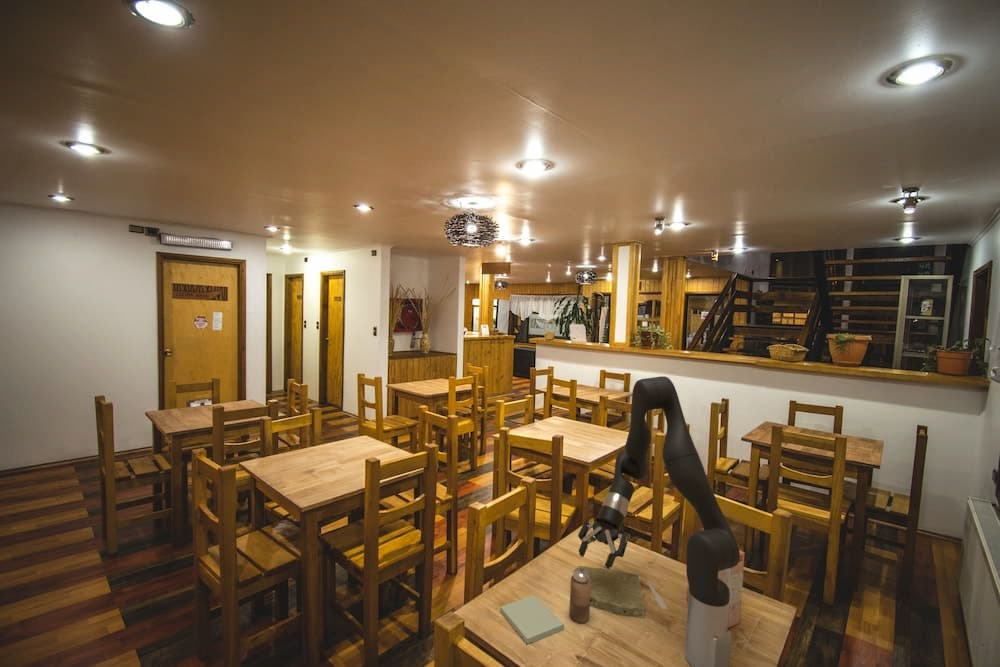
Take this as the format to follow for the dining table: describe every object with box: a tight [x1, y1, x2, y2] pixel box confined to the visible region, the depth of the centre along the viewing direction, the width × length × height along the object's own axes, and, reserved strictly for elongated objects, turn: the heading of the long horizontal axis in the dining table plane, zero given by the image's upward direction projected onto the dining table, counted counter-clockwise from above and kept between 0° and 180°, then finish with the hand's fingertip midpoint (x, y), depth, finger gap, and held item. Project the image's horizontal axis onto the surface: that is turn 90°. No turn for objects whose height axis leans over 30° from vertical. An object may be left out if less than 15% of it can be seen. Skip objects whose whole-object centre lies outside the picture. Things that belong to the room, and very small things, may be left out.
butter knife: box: [646, 581, 668, 611], centre depth 145 cm, size 1×27×3 cm
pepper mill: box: [568, 567, 591, 625], centre depth 127 cm, size 6×6×13 cm
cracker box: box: [686, 533, 745, 629], centre depth 131 cm, size 14×6×21 cm, turn 27°
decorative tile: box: [576, 565, 646, 619], centre depth 138 cm, size 19×20×4 cm
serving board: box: [499, 594, 565, 645], centre depth 125 cm, size 14×12×2 cm
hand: (593, 561), depth 132 cm, fingers open, 8 cm apart
